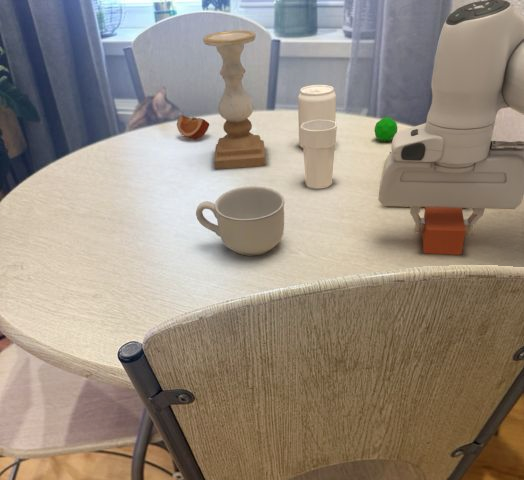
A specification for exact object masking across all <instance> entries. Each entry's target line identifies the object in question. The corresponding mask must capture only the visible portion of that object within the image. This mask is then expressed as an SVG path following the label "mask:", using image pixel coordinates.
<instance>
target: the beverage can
mask: <svg viewBox="0 0 524 480" xmlns="http://www.w3.org/2000/svg"><path fill="white" fill-rule="evenodd" d="M334 90H335V88H334V87H333V86H332V85H327V84H311V85H307V86H303V87H301V88H300V89H299V94H298V96H297V111H298V112H297V115H298V145H299V146H300V148H302V149H303V144H302V138H301V125H302V124H303V123H305V122H308V121H312V120H330V121H334V122H335V123H336V120H337V119H336V116H337V115H336V113H337V112H336V111H337V110H336V109H337V95H336V92H335V91H334Z"/></svg>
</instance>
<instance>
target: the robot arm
mask: <svg viewBox="0 0 524 480" xmlns="http://www.w3.org/2000/svg"><path fill="white" fill-rule="evenodd" d="M435 50H436V51H435V55H434V62H433V69H432V75H431V82H430V83H431V84H430V86H431V94H432V95H431V96H432V99H431V104H430V108H429V110H428V112H427V116H426V122H424V123H421V124H418V125H415V126H412V127H409V128H406V129H402V130H399V131H397V133H396V134H395V135H394V137H393V138H392V139H391V140H392V141H391V151H390V152H391V153H390V152H389V154H388V155H387V157H386V159H385V161H384V164H383V168H382V173H381V178H380V183H379V188H378V189H379V191H378V201H379V203H380V204H381V205H382V206H383V207H388V206H402V207H401V208H409V209H410V211H409V213H410V215H411V217H412V219H413V221H414V223H415V226H414V233H417V234H419V233H420V234H422V233H424V232H425V225H426V220H425V218H424V217H421V216H420V214H419V213H421V208H425V207H441V208H462V209H472V213H471V214H470V215H469V217H468V218H467V219H466V218H464V224H465V229H466V233H465V235H472V233H473V227H474V225H475V224H477V223H478V222H479V220H480V219H481V218H482V217H483V216H484V214H485V209H486V210H487V209H488V210H516V208H518V207H519V206H520V205H522V203H523V200H524V141H523V140H514V141H505V140H493V139H492V138H493V134H494V130H495V129H494V128H495V124H496V120H497V115H498V113H499V111H500V110H502V109H509V108H510V109H511V110H513V111H515V112H516V113H519V114H521V115H523V116H524V15H522V14H521V13H519V12H518V11H517V10H516V9H514V7H513V6H512V4H511V2H510V1H508V0H477V1H474V2H470V3H467V4H465V5H462V6H460V7H458V8H456V9H455V10H454V11H452V12H451V13H450V14H449V15H448V16H447V18H446V19H445V21H444V23H443V26H442V28H441V31H440V33H439V38H438V41H437V45H436V49H435Z"/></svg>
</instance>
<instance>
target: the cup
mask: <svg viewBox="0 0 524 480" xmlns="http://www.w3.org/2000/svg"><path fill="white" fill-rule="evenodd" d="M337 128H338V123H337V122H336V121H335V122H334V121H330V120H312V121H308V122H305V123H303V124H302V125H301V138H302V144H303V148H302V149H303V163H304V164H303V165H304V176H305V179H304V183H305V185H306V186H307V188H311V189H314V190H315V189H316V190H318V189H327V188H329V186H331V185H333V172H334V161H335V147H336V142H337V130H338V129H337Z"/></svg>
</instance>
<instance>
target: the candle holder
mask: <svg viewBox="0 0 524 480" xmlns="http://www.w3.org/2000/svg"><path fill="white" fill-rule="evenodd" d="M202 39H203V40H202V41H203V43H204V45H207V46H211V47H216V50H217V53H218V54H219V55H220V56H221V59H222V66H221V69H220V70H219V75H220V76H222V79H223V81H224V83H225V88H224V91H223V94H222V96H221V97H220V100H219V103H218V113H219V115H220V117H221V118H222V119H224V120H225V122H224V123H223V126H222V127H223V131H224V132H225V135H224V136H223V137H219V138H218V140H217V144H215V148H214V150H215V152H214V160H213V161H214V168H215V170H226V169H237V168H238V169H239V168H240V169H241V168H250V167H263V166H266V165H267V162H266V149H265V141H264V140H262V139H261V136H260V135H259V134H253V133H251V132H250V131H251V130H252V127H253V125H252V122H251V121H250V119H249V118H250V117H251V115H252V114H253V113H254V103H253V101H252V99H251V97H250V96H249V95H248V93H247V92H246V89H245V88H244V86H243V78H244V75H245V73H246V69H245V67H244V66H243V64H242V62H241V55H242V52H243V51H244V49H245V45H246V44H248V43H251V42H254V41H255V40H256V32H254V31H250V30H226V31H219V32H213V33H209V34H207V35H205V36H204V37H203V38H202Z"/></svg>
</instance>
